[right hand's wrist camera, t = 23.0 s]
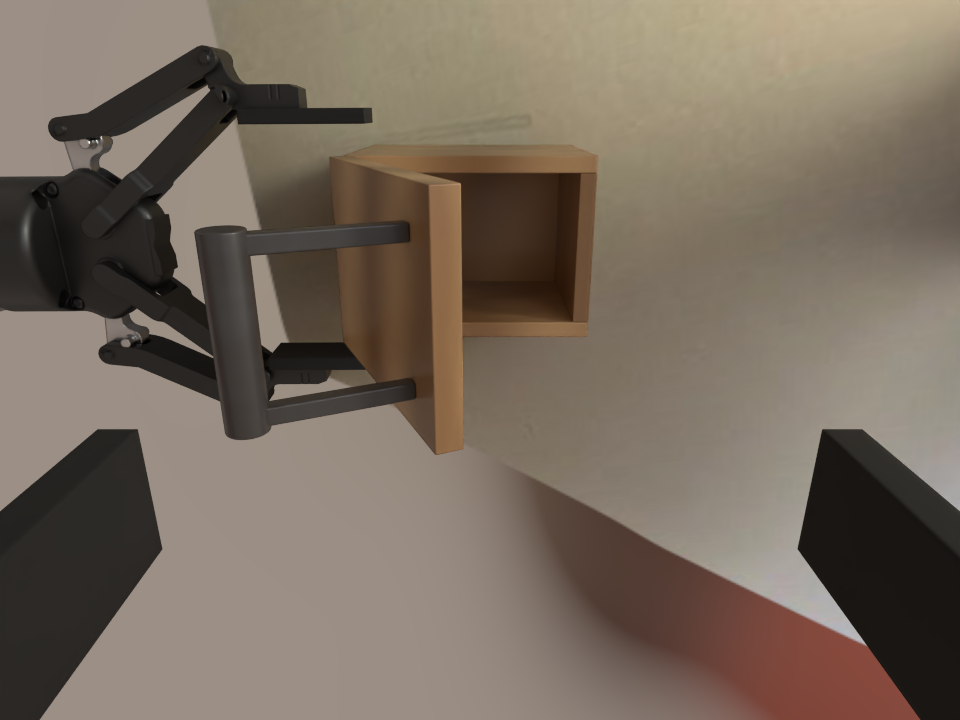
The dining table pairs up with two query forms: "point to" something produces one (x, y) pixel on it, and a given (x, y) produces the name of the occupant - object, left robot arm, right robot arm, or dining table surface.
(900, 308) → the dining table surface
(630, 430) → the dining table surface
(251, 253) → the wooden door with handle
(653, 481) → the dining table surface
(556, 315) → the cabinet
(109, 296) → the left robot arm
